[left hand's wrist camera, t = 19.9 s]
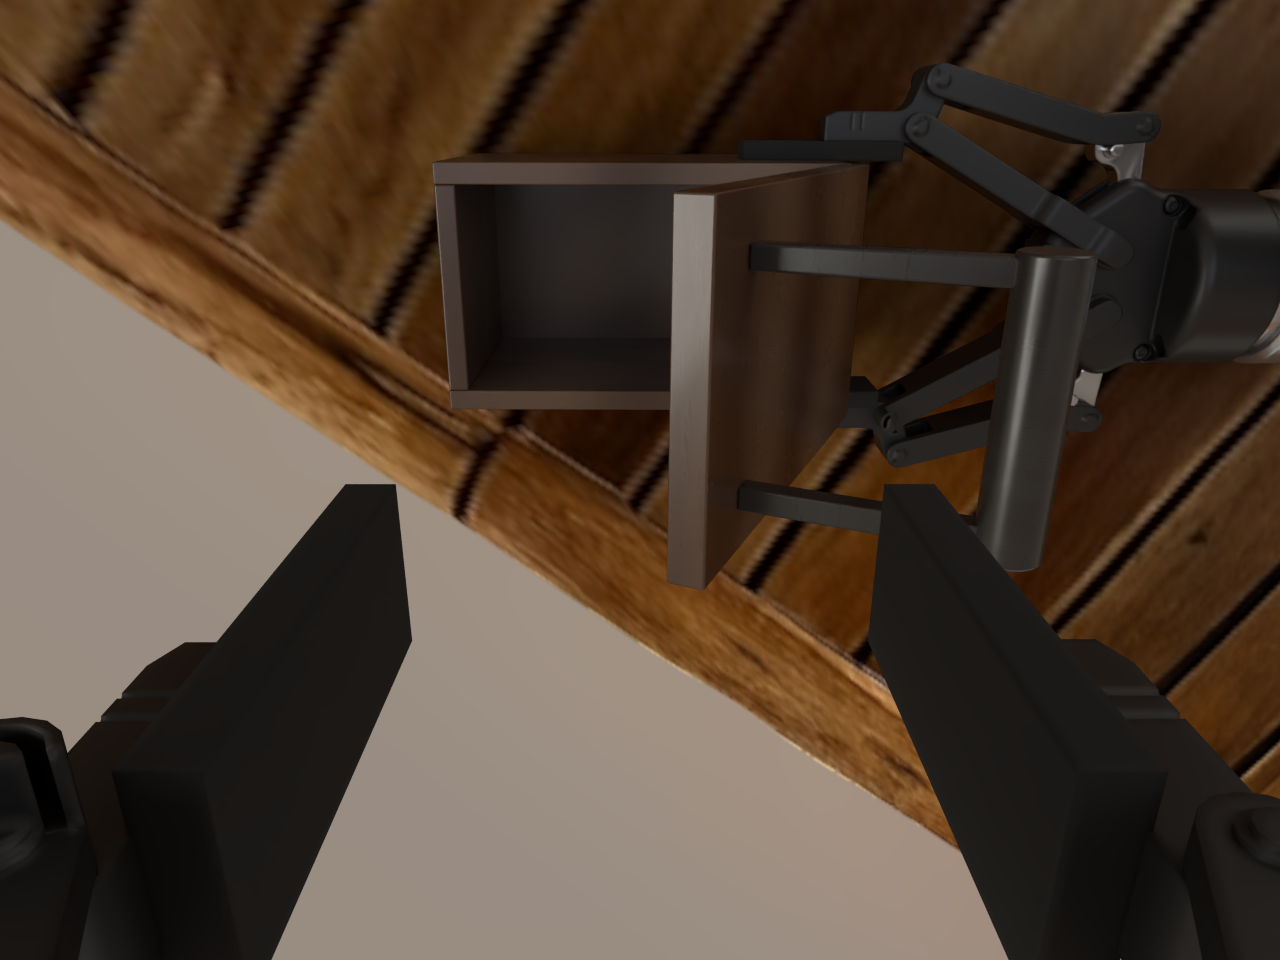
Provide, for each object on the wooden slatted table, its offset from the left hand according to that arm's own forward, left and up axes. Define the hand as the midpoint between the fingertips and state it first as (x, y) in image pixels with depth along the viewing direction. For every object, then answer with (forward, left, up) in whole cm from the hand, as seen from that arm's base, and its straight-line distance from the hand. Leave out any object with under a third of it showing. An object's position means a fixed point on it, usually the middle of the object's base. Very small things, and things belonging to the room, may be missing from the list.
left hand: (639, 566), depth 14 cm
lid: (-2, +3, -16) cm, 17 cm away
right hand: (-2, +4, -28) cm, 29 cm away
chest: (0, 0, -35) cm, 35 cm away
